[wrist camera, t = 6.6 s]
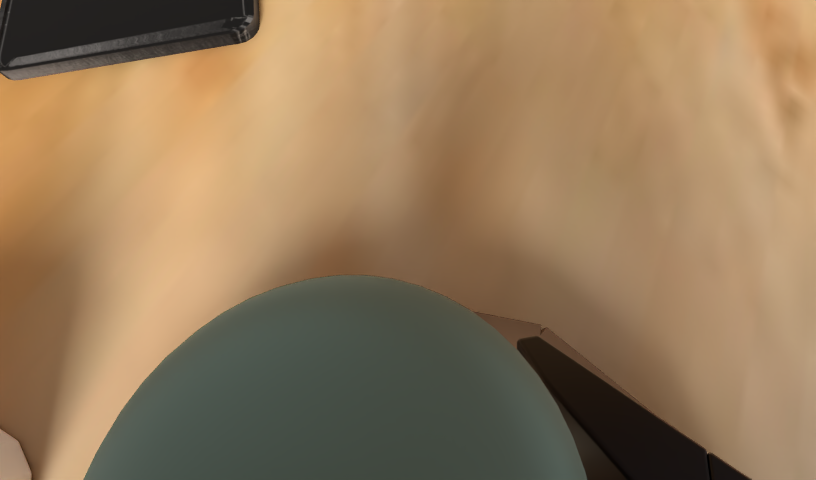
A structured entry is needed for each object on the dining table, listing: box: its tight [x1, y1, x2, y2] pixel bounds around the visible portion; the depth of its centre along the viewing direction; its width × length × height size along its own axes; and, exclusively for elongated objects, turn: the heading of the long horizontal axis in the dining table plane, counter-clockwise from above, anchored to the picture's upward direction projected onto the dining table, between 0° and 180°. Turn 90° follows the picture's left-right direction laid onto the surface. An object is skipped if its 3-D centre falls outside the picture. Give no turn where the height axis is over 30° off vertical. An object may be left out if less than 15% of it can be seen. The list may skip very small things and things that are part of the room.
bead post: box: [84, 275, 587, 480], centre depth 9 cm, size 5×5×15 cm
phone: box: [0, 0, 260, 80], centre depth 24 cm, size 8×1×15 cm
